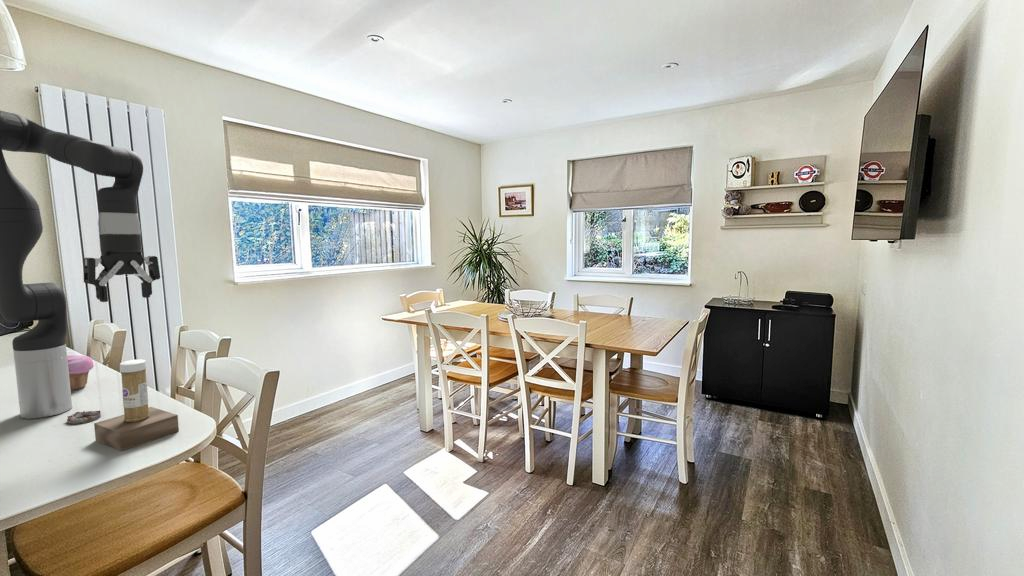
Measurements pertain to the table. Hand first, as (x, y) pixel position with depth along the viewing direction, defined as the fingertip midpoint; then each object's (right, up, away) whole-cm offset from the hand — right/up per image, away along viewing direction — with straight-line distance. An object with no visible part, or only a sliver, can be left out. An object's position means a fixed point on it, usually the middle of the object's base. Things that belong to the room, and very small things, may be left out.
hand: (125, 299), depth 108 cm
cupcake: (-36, -27, +24) cm, 51 cm away
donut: (-13, -31, +2) cm, 33 cm away
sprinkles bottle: (+8, -27, -7) cm, 29 cm away
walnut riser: (+8, -31, -6) cm, 33 cm away
